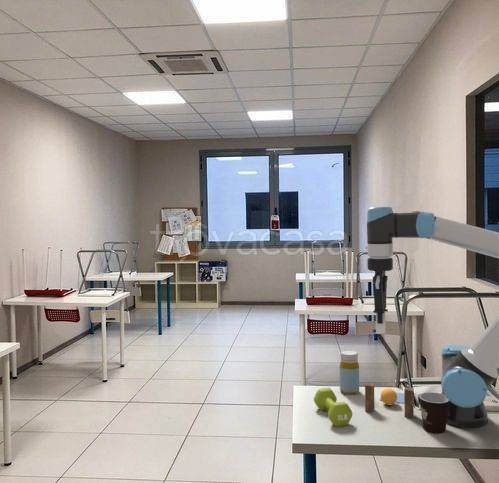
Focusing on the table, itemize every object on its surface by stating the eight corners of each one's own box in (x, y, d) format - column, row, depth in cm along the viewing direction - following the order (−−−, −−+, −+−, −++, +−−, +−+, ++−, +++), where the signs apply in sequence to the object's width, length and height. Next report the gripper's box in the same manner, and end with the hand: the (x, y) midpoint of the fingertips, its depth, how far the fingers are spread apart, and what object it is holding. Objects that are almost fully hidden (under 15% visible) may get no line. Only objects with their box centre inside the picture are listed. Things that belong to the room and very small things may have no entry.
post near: (413, 414, 160) (413, 387, 160) (412, 417, 158) (412, 390, 157) (405, 413, 161) (405, 386, 161) (404, 416, 159) (404, 389, 158)
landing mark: (408, 394, 177) (408, 393, 177) (406, 403, 169) (406, 403, 169) (383, 391, 181) (383, 390, 181) (379, 400, 173) (379, 400, 173)
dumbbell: (354, 426, 154) (354, 403, 153) (330, 429, 152) (330, 406, 152) (334, 405, 170) (334, 385, 169) (312, 408, 168) (312, 388, 168)
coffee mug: (452, 436, 145) (452, 403, 144) (421, 435, 146) (421, 402, 146) (444, 419, 156) (444, 389, 155) (415, 418, 158) (415, 388, 157)
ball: (396, 407, 165) (398, 402, 171) (396, 391, 165) (397, 386, 170) (380, 406, 167) (381, 401, 173) (379, 390, 167) (381, 385, 172)
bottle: (351, 397, 176) (350, 356, 175) (336, 391, 182) (335, 352, 181) (363, 392, 181) (362, 352, 180) (348, 387, 186) (347, 348, 185)
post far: (374, 409, 165) (374, 383, 165) (373, 412, 163) (372, 386, 162) (366, 408, 166) (366, 382, 166) (365, 411, 164) (365, 385, 163)
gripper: (371, 254, 157) (371, 327, 159) (363, 259, 145) (364, 337, 147) (395, 255, 154) (395, 328, 156) (389, 259, 142) (390, 339, 144)
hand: (380, 333), depth 151 cm, fingers closed
